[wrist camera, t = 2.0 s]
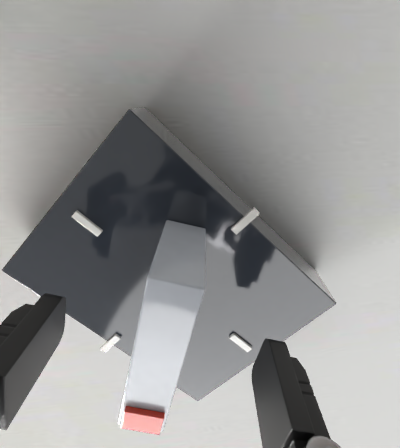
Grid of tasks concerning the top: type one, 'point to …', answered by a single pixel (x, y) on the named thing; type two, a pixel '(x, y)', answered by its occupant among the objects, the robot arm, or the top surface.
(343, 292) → the top surface
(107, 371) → the top surface
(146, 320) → the red-tipped grey slab
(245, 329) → the dark grey slab base
